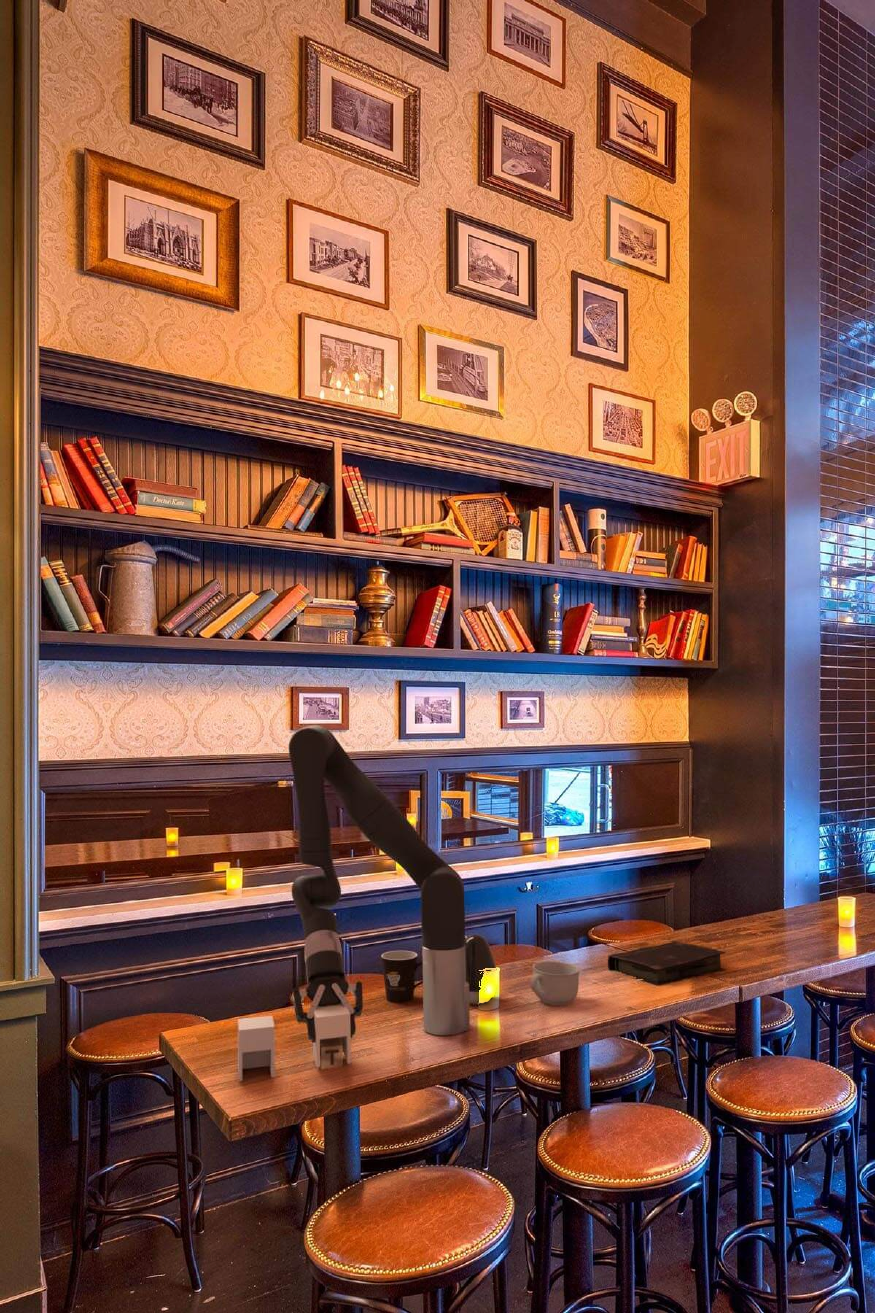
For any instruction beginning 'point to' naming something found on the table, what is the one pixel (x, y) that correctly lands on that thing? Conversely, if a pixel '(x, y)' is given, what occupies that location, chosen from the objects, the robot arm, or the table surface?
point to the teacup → (555, 982)
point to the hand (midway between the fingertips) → (332, 1038)
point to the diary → (667, 962)
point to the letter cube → (331, 1053)
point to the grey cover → (256, 1044)
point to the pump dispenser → (476, 963)
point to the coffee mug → (400, 975)
